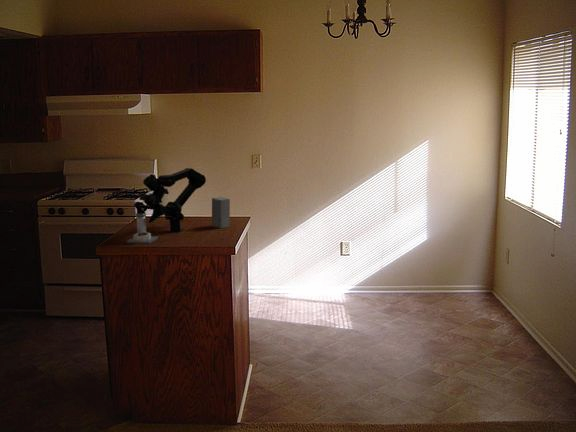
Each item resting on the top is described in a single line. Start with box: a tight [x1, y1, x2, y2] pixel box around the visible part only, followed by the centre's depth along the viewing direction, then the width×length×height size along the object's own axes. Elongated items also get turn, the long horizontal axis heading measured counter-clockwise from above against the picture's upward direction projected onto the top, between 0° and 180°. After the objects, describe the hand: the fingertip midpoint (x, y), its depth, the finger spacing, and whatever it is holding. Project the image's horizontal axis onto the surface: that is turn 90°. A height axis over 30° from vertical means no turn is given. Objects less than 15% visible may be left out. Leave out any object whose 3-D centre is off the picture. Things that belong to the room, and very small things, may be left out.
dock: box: [126, 232, 159, 244], centre depth 320 cm, size 11×12×3 cm
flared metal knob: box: [135, 212, 148, 236], centre depth 319 cm, size 5×5×13 cm
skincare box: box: [211, 196, 231, 229], centre depth 345 cm, size 8×7×16 cm
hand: (142, 221), depth 319 cm, fingers open, 9 cm apart
